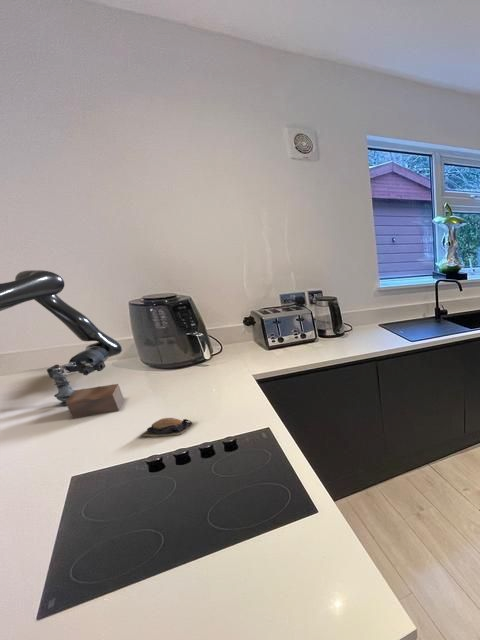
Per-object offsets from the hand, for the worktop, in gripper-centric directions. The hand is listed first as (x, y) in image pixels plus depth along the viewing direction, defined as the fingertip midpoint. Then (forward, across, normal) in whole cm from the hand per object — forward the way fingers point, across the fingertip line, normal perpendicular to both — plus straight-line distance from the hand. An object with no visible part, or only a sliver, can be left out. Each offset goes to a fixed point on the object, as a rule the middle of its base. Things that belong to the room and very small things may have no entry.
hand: (68, 374), depth 142 cm
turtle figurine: (+47, +37, +8) cm, 60 cm away
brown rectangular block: (+19, +12, +8) cm, 24 cm away
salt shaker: (+10, +2, +8) cm, 13 cm away
